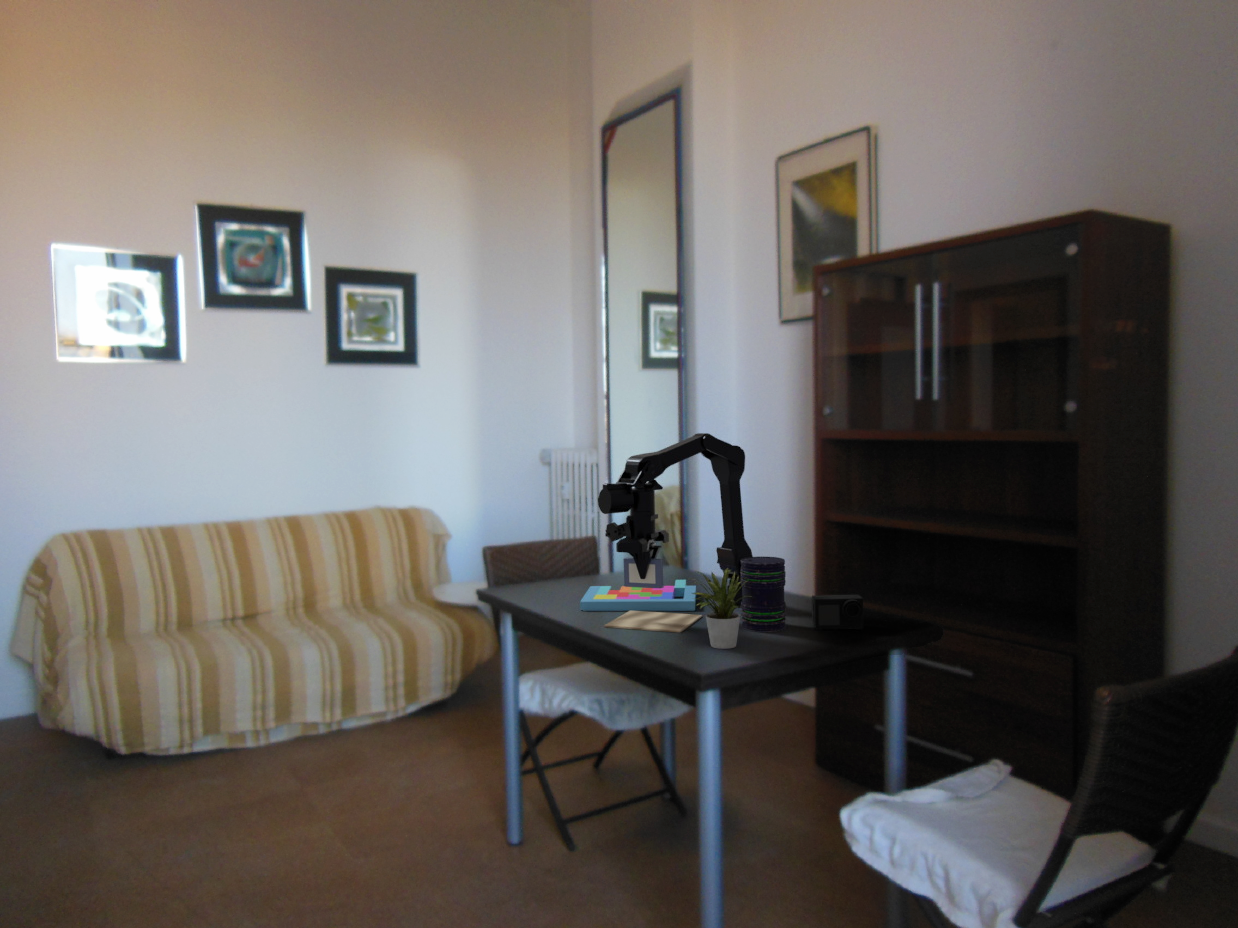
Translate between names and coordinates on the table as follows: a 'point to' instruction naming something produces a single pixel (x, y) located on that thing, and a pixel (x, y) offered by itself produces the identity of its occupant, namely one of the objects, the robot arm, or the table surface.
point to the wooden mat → (654, 621)
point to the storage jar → (763, 594)
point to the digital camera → (837, 611)
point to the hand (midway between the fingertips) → (644, 578)
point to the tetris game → (640, 598)
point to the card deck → (652, 578)
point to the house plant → (721, 611)
